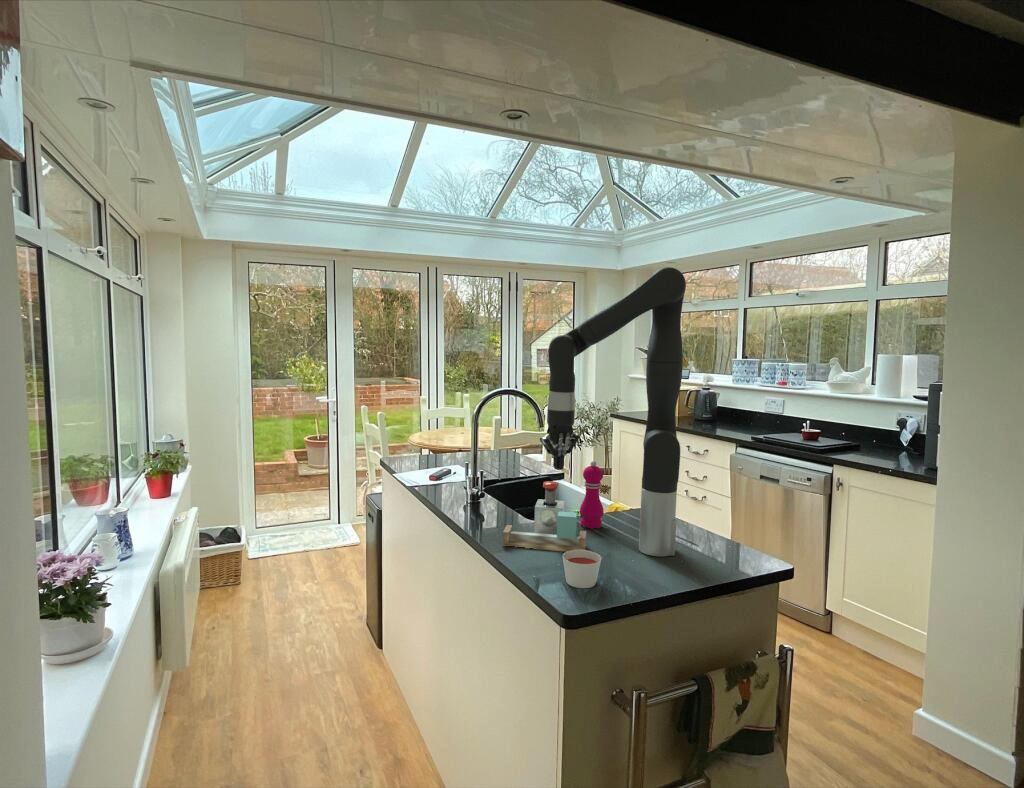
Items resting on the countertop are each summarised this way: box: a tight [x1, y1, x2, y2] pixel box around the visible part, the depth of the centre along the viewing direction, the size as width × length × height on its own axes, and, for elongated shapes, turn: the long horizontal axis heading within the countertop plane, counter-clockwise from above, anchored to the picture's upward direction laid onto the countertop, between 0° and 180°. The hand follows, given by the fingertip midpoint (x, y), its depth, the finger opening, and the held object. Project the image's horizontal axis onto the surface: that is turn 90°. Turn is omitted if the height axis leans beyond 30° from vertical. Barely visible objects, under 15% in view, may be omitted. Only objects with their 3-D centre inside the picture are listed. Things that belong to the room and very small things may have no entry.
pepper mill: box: [579, 460, 604, 529], centre depth 182 cm, size 7×7×20 cm
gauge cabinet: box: [533, 498, 566, 535], centre depth 177 cm, size 8×8×8 cm
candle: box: [562, 549, 602, 589], centre depth 141 cm, size 9×9×6 cm
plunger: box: [542, 480, 559, 506], centre depth 177 cm, size 4×4×9 cm
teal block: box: [557, 511, 578, 539], centre depth 163 cm, size 5×4×6 cm
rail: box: [502, 524, 587, 552], centre depth 165 cm, size 22×6×4 cm, turn 81°
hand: (558, 469), depth 168 cm, fingers closed
